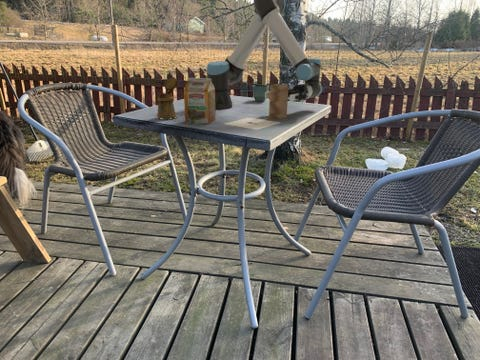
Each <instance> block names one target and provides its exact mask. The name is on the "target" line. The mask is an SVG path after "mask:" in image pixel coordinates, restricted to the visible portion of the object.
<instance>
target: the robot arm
mask: <svg viewBox="0 0 480 360" xmlns="http://www.w3.org/2000/svg"><path fill="white" fill-rule="evenodd" d="M253 7H254V10H253V13H254V16H253V17H252V19H251V21H250V23H249V24H248V26H247V27H246V29H245V31H244V33H243V34H242V35H241V38H240V40H239V41H238V42H237V44H236V46H235V48H234V50H233V52H232V53H231V54H230V55H227V56H226V58H225V60H217V61H210V62H208V63H207V64H206V78H210V79H211V82H212V84H213V85H214V88H215V110H225V109H226V110H227V109H231V108H233V102H232V98H231V95H230V94H231V93H230V86H231V85H235V84H238V83H239V82H240V81H241V80H242V78H243V76H244V71H245V69H246V65H245V64H246V62H248V61H247V60H248V59H249V57H250V56H251V54H252V52H253V50H254V49H255V47H256V46H257V45H258V43H259V41H260V39H261V38H262V36H263V34H264V33H265V31H266V30H267V28H269V30H270V31H271V33H272V35H273V36H274V39H275V40H276V41H277V42H278V45H279V47H281V49H282V50H283V53H284V54H285V55H286V57H287V59H288V60H289V62H290V63H291V66H293V68H294V70H295V76H296V78H297V79H298V80H299V81H304V83H301V84H300V83H299V84H295V85H294V86H293V87H292V88H290V89H289V88H288V98H289V102H293V101H302V100H303V101H305V100H307V99H310V98H311V99H312V98H316V97H318V96H319V95H321V94H322V92H323V86H322V84H321V82H320V79H321V78H320V76H321V67H322V65H321V64H322V63H321V58H315V57H314V58H313V57H310V58H309V57H307V55H306V53H305V52H304V50H303V49H302V47H301V45H300V44H299V42H298V41H297V39H296V37H295V36H294V34H293V32H292V31H291V29H290V28H289V26H288V24H287V23H286V21H285V19H284V18H283V16H282V14H283V13H284V11H285V9H286V0H253ZM265 98H266V99H270V89H268V92H265Z"/></svg>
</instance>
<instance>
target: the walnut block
mask: <svg viewBox="0 0 480 360" xmlns="http://www.w3.org/2000/svg"><path fill="white" fill-rule="evenodd" d="M288 89H289V84H282V83H275V84H269V90H270V98H269V101H268V102H269V107H268V108H269V109H268V110H269V111H268V116H269V118H273V119H279V120H280V119H284V118H287V116H288V101H289V97H288Z"/></svg>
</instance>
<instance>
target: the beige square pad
mask: <svg viewBox="0 0 480 360" xmlns="http://www.w3.org/2000/svg"><path fill="white" fill-rule="evenodd" d="M279 124H281V122H280V121H274V120H267V119H261V118H254V117H246V118H241V119H238V120H234V121H230V122H226V123H225V122H224V125H227V126H233V127H239V128H245V129H249V130H254V131H258V130H262V129H264V128H268V127H271V126H275V125H279Z"/></svg>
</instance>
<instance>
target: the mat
mask: <svg viewBox="0 0 480 360" xmlns="http://www.w3.org/2000/svg"><path fill="white" fill-rule="evenodd" d="M260 119H261V120H267V121H273V122H280V123H282V122H285V121H289V120H294V119H297V118H296V116H295V117H294V116H288V115H287V118H284V119H280V120H279V119H273V118H269V115H267V116H264V117H263V116H261V117H260Z"/></svg>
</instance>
